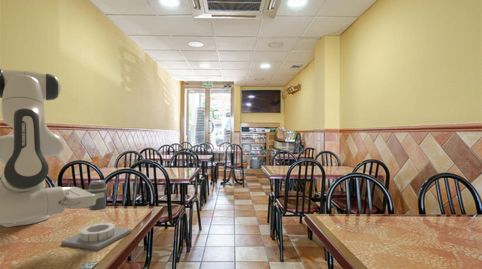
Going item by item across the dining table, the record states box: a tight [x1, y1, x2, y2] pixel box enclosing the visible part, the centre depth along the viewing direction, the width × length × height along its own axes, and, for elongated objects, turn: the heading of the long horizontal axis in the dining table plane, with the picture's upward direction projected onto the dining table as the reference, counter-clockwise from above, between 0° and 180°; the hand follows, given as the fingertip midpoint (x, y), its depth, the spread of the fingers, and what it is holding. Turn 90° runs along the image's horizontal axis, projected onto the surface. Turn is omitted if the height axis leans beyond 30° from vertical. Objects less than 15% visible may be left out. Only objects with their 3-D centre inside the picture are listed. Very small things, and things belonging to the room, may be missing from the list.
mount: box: [61, 222, 132, 251], centre depth 95 cm, size 16×16×4 cm
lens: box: [88, 179, 107, 211], centre depth 95 cm, size 6×6×10 cm
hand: (100, 192), depth 96 cm, fingers closed on lens, 5 cm apart
